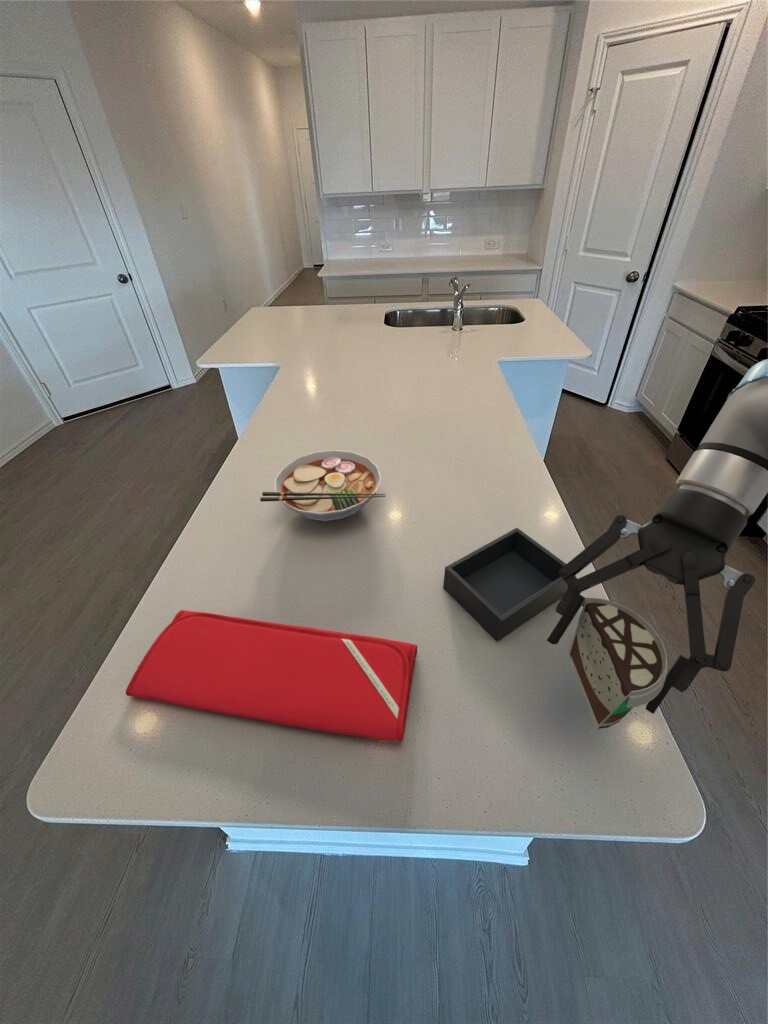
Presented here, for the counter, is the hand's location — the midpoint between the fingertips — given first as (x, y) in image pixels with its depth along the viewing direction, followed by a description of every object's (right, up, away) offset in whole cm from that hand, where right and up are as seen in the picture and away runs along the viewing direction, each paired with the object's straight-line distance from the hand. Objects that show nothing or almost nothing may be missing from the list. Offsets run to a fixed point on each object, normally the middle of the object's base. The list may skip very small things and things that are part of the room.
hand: (597, 673), depth 49 cm
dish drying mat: (-40, -7, +19) cm, 45 cm away
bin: (-2, +4, +30) cm, 30 cm away
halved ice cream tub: (+3, -3, +3) cm, 5 cm away
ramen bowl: (-36, +19, +50) cm, 64 cm away
